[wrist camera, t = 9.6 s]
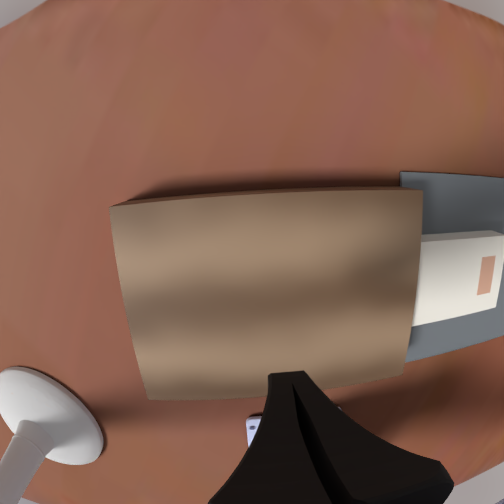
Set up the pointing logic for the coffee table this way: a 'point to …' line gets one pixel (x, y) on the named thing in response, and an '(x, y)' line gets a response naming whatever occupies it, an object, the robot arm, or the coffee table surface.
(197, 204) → the brown box
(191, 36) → the coffee table surface
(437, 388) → the coffee table surface
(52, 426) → the candlestick
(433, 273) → the white box with patch
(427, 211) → the mat
